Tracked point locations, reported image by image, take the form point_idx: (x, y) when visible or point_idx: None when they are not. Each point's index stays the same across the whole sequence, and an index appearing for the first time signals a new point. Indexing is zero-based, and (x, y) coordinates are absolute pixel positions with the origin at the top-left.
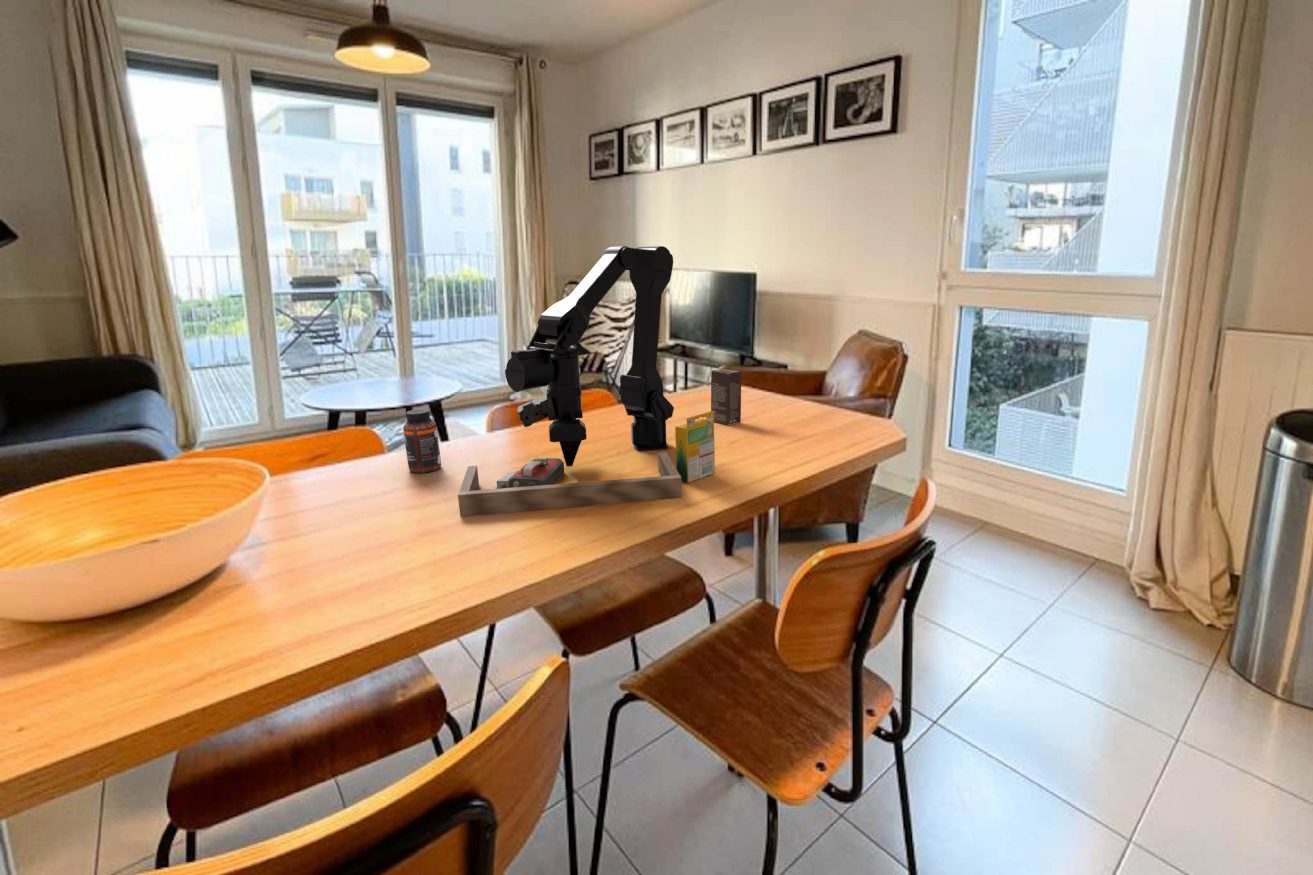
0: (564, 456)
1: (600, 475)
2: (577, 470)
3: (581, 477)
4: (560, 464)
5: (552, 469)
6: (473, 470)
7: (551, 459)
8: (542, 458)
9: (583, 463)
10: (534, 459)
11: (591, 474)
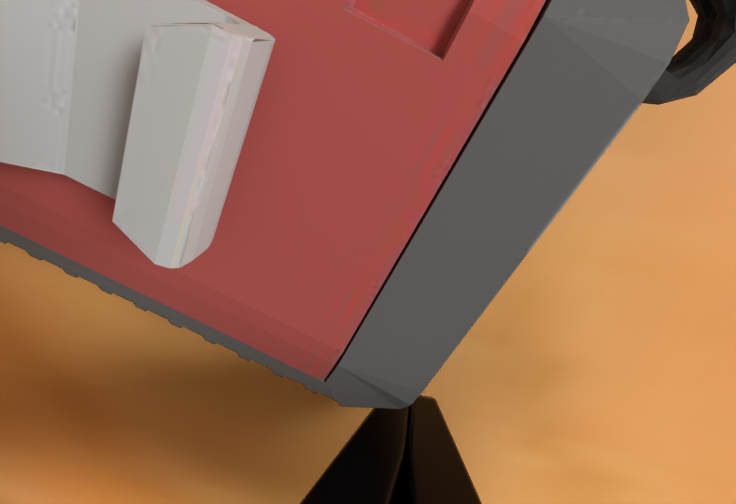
0: (320, 479)
1: (252, 496)
2: None
3: (235, 400)
4: (245, 357)
5: (23, 239)
6: None
7: (404, 309)
8: (136, 174)
9: (586, 500)
10: (600, 7)
11: (286, 465)
